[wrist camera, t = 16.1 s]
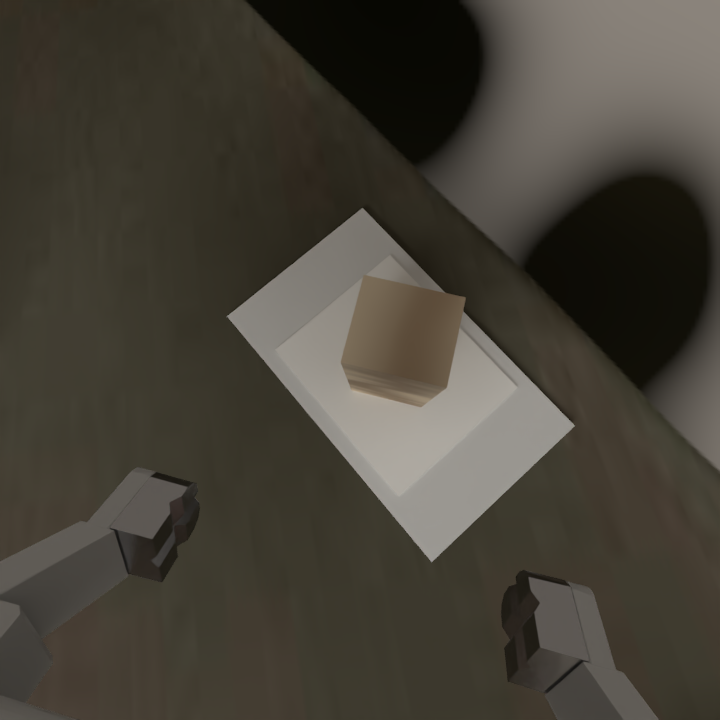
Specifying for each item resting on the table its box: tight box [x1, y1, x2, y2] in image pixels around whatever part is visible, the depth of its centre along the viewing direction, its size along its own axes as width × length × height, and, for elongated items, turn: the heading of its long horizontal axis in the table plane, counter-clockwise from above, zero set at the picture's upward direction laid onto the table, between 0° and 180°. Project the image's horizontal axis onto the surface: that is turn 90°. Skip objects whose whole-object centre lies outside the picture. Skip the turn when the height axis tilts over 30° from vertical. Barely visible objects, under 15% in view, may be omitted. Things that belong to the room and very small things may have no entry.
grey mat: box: [227, 208, 575, 562], centre depth 26 cm, size 20×12×1 cm, turn 41°
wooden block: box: [341, 275, 466, 407], centre depth 22 cm, size 4×4×9 cm
